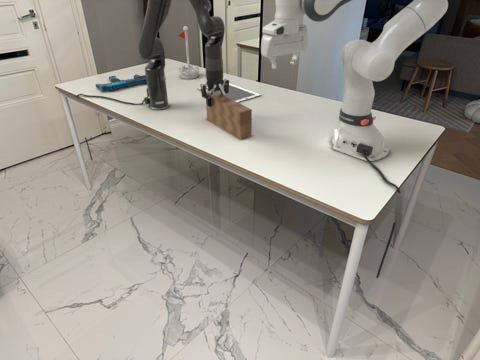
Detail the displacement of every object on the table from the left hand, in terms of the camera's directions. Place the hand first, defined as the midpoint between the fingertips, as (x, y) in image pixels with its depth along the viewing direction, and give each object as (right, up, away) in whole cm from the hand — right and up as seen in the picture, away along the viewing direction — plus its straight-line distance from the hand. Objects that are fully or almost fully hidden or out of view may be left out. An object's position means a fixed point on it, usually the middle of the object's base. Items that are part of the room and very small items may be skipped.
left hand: (215, 104), depth 156 cm
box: (+6, -11, -2) cm, 12 cm away
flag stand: (-22, +32, +64) cm, 75 cm away
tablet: (+5, +15, +37) cm, 41 cm away
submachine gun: (-60, +25, +52) cm, 83 cm away
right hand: (+28, +8, -28) cm, 40 cm away
